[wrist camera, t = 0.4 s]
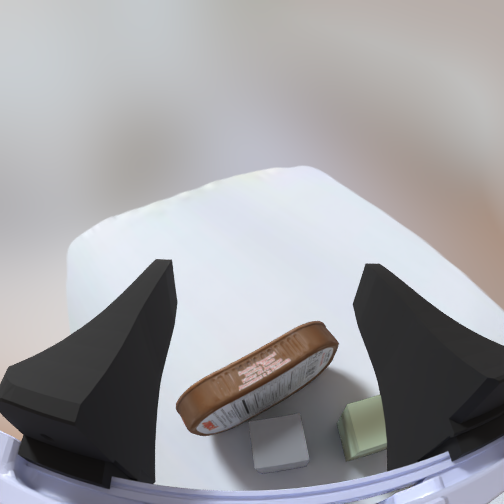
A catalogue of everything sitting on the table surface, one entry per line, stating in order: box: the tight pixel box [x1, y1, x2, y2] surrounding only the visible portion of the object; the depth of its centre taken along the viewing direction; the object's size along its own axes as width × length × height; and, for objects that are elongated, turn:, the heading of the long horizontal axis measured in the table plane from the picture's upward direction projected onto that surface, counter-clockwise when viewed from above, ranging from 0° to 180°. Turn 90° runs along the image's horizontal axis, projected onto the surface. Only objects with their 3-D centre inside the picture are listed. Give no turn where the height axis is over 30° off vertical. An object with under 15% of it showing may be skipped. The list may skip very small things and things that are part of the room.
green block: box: [337, 395, 387, 462], centre depth 20 cm, size 4×4×6 cm
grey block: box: [248, 413, 310, 474], centre depth 21 cm, size 4×4×5 cm
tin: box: [176, 321, 339, 436], centre depth 24 cm, size 15×3×8 cm, turn 119°
